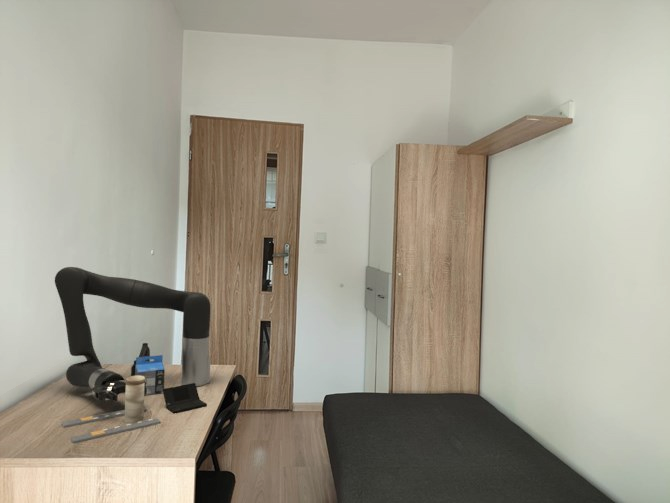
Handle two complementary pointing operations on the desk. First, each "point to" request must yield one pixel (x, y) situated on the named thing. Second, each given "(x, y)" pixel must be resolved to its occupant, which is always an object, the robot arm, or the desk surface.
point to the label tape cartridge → (151, 373)
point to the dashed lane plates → (106, 431)
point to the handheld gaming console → (182, 398)
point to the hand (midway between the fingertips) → (131, 394)
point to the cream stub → (134, 398)
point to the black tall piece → (144, 352)
